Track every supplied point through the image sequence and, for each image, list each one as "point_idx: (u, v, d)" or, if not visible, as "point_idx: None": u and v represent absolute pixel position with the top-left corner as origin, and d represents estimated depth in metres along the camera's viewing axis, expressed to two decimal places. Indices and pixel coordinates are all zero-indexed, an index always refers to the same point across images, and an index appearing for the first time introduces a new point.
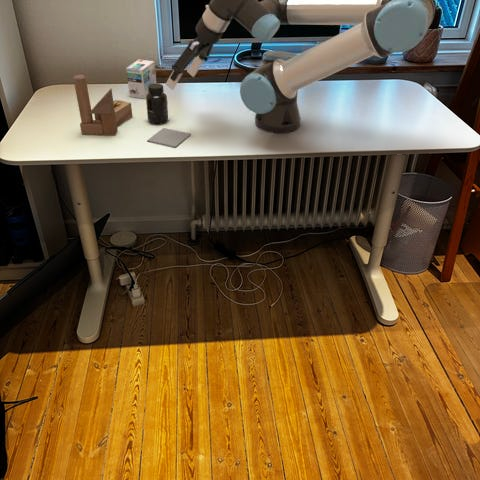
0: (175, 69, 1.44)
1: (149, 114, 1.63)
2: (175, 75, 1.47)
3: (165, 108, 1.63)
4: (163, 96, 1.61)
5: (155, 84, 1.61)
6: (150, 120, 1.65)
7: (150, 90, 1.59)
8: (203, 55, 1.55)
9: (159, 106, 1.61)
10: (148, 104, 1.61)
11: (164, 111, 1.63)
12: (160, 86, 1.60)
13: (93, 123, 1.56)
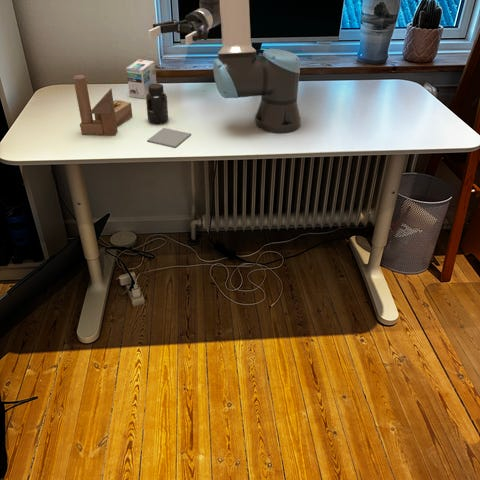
0: None
1: (149, 114, 1.63)
2: None
3: (165, 108, 1.63)
4: (163, 96, 1.61)
5: (155, 84, 1.61)
6: (150, 120, 1.65)
7: (150, 90, 1.59)
8: (195, 30, 1.64)
9: (159, 106, 1.61)
10: (148, 104, 1.61)
11: (164, 111, 1.63)
12: (160, 86, 1.60)
13: (93, 123, 1.56)
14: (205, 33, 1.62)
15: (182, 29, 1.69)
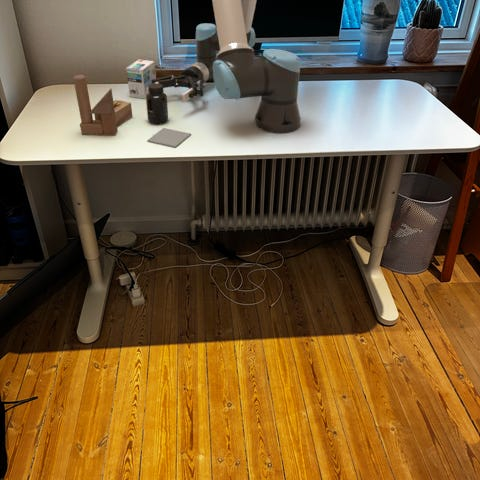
0: None
1: (149, 114, 1.63)
2: None
3: (165, 108, 1.63)
4: (163, 96, 1.61)
5: (155, 84, 1.61)
6: (150, 120, 1.65)
7: (150, 90, 1.59)
8: (192, 87, 1.73)
9: (159, 106, 1.61)
10: (148, 104, 1.61)
11: (164, 111, 1.63)
12: (160, 86, 1.60)
13: (93, 123, 1.56)
14: (201, 90, 1.70)
15: (179, 84, 1.78)
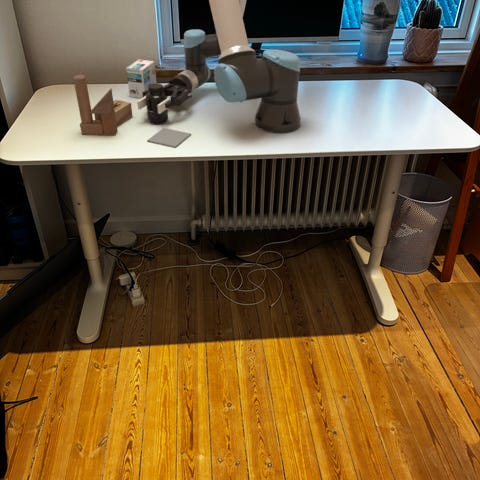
0: None
1: (149, 114, 1.63)
2: None
3: None
4: (163, 96, 1.61)
5: (155, 84, 1.61)
6: (150, 120, 1.65)
7: (150, 90, 1.59)
8: None
9: None
10: (148, 104, 1.61)
11: (164, 111, 1.63)
12: (160, 86, 1.60)
13: (93, 123, 1.56)
14: (177, 100, 1.63)
15: (167, 93, 1.70)
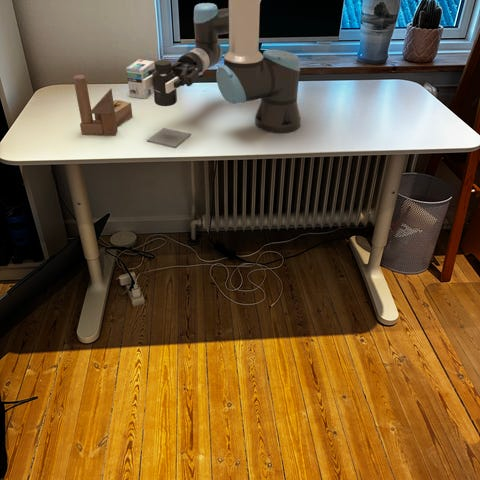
0: None
1: (156, 94, 1.47)
2: None
3: None
4: (171, 74, 1.44)
5: (162, 61, 1.44)
6: (157, 101, 1.48)
7: (157, 67, 1.42)
8: None
9: None
10: (155, 83, 1.45)
11: (173, 91, 1.46)
12: (168, 62, 1.43)
13: (93, 123, 1.56)
14: (187, 79, 1.46)
15: (175, 72, 1.54)
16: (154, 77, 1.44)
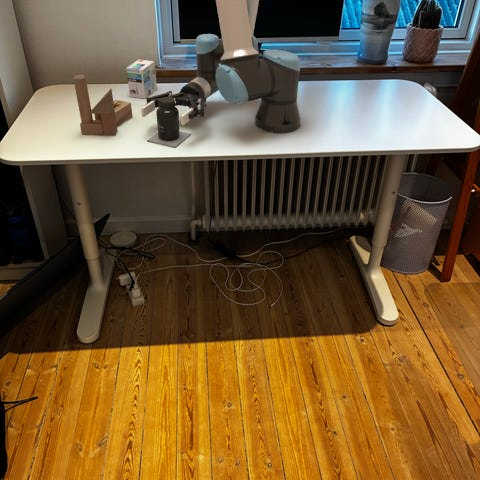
0: None
1: (159, 129, 1.53)
2: None
3: (177, 123, 1.52)
4: (175, 111, 1.50)
5: (166, 98, 1.50)
6: (160, 136, 1.54)
7: (161, 104, 1.48)
8: (192, 106, 1.54)
9: (170, 122, 1.50)
10: (159, 119, 1.51)
11: (176, 126, 1.53)
12: (172, 100, 1.49)
13: (93, 123, 1.56)
14: (202, 110, 1.51)
15: (178, 102, 1.59)
16: (158, 114, 1.50)
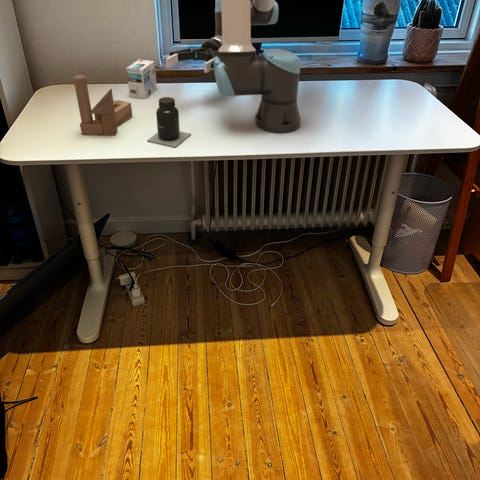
0: None
1: (159, 129, 1.53)
2: None
3: (177, 123, 1.52)
4: (175, 111, 1.50)
5: (166, 98, 1.50)
6: (160, 136, 1.54)
7: (161, 104, 1.48)
8: (213, 58, 1.63)
9: (170, 122, 1.50)
10: (159, 119, 1.51)
11: (176, 126, 1.53)
12: (172, 100, 1.49)
13: (93, 123, 1.56)
14: None
15: (199, 56, 1.68)
16: (158, 114, 1.50)
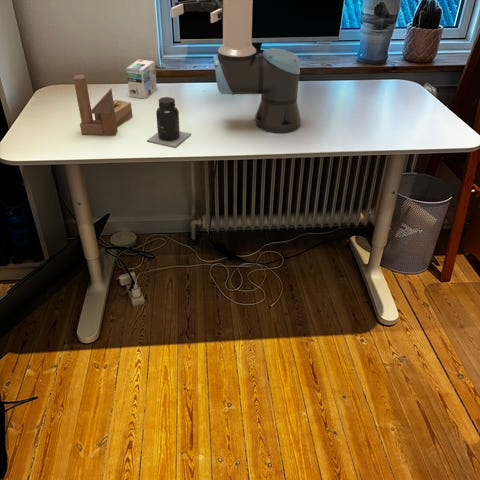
0: None
1: (159, 129, 1.53)
2: None
3: (177, 123, 1.52)
4: (175, 111, 1.50)
5: (166, 98, 1.50)
6: (160, 136, 1.54)
7: (161, 105, 1.48)
8: (220, 8, 1.57)
9: (170, 122, 1.50)
10: (158, 119, 1.51)
11: (176, 126, 1.53)
12: (171, 100, 1.49)
13: (93, 123, 1.56)
14: None
15: (205, 8, 1.62)
16: (158, 114, 1.50)
